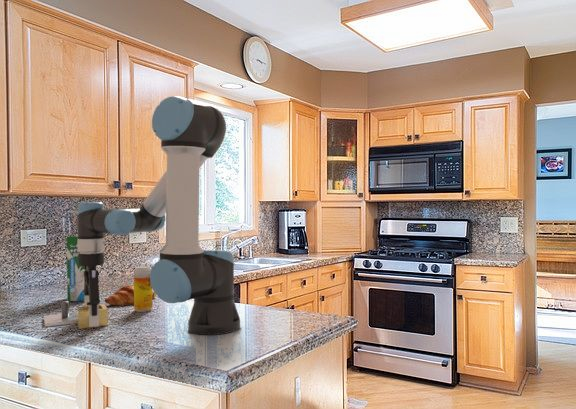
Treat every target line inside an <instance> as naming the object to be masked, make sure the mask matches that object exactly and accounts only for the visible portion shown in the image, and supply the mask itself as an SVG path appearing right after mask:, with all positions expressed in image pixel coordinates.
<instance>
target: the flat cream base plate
mask: <svg viewBox="0 0 576 409" xmlns="http://www.w3.org/2000/svg"><path fill="white" fill-rule="evenodd" d="M60 304H61V313H56V314H48V315H43V324H44V328H46V327H55V326H64V325H65V326H66V325H72V324H73V325H74V324H77V311H75V312H74V311H73V312H70V302H69V301H68V300H63V301H61V303H60Z"/></svg>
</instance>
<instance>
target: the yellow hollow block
mask: <svg viewBox="0 0 576 409" xmlns="http://www.w3.org/2000/svg"><path fill="white" fill-rule="evenodd" d="M76 312H77V323H76V324H77V327H78V329H79V330H81V329H89V328H90V329H91V328H92V327H89V306H85V305H84V306H77V307H76ZM108 314H109V310H108V307H107V306H106V304H104V303H103V304H99V326H94V327H93V328H96V327H107V326H109V320H108V319H109V315H108Z"/></svg>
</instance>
